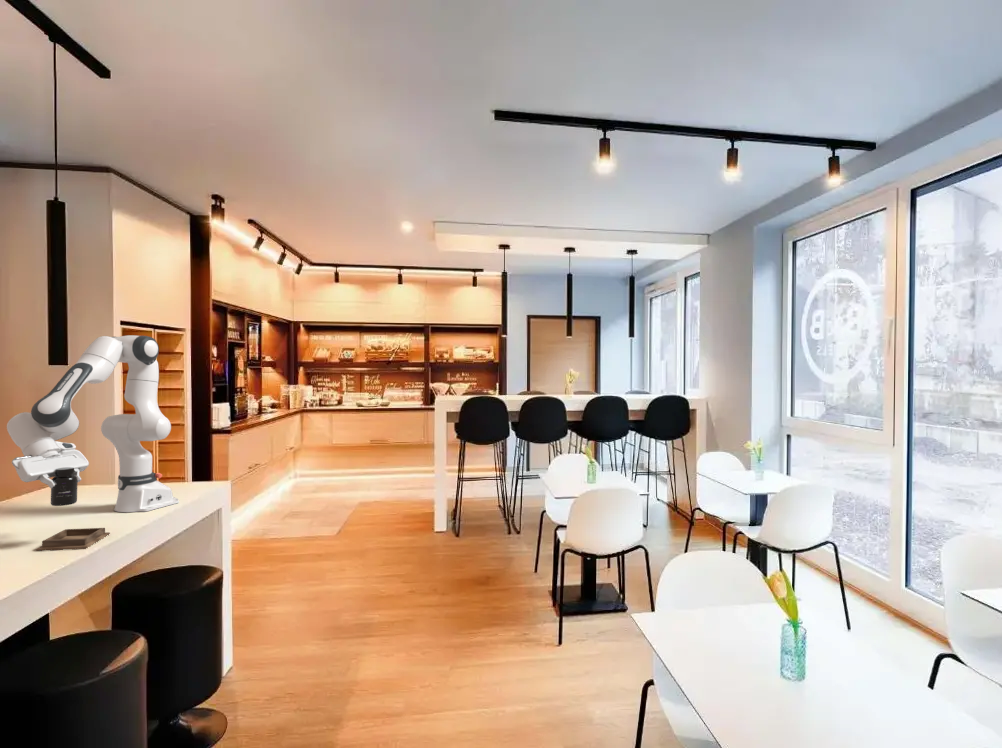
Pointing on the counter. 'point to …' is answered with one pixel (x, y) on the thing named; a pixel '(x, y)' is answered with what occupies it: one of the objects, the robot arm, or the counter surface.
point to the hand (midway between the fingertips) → (66, 483)
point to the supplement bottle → (64, 487)
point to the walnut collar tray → (73, 539)
